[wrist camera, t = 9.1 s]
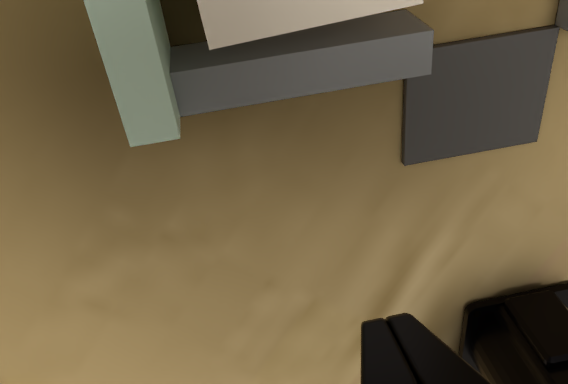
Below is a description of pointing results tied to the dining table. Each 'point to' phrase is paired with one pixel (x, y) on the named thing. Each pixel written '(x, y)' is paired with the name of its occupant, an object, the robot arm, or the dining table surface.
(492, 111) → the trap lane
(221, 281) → the dining table surface
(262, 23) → the block
